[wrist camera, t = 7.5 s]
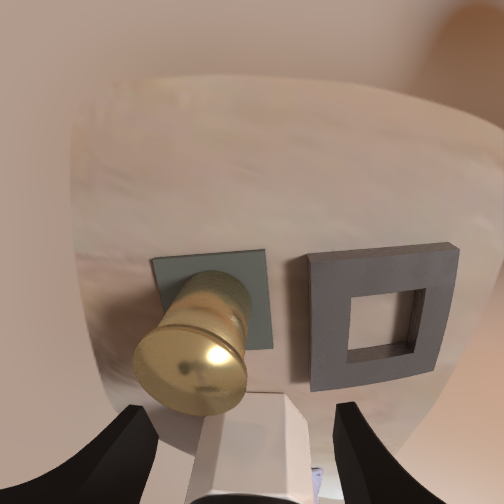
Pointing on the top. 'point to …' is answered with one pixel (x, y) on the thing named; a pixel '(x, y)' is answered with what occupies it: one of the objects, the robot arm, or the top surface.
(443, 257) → the housing
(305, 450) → the jar
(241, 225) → the top surface
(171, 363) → the gold rounded piece
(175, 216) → the top surface
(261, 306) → the mat
